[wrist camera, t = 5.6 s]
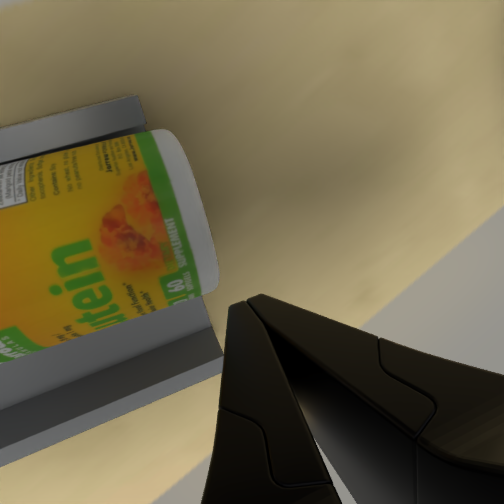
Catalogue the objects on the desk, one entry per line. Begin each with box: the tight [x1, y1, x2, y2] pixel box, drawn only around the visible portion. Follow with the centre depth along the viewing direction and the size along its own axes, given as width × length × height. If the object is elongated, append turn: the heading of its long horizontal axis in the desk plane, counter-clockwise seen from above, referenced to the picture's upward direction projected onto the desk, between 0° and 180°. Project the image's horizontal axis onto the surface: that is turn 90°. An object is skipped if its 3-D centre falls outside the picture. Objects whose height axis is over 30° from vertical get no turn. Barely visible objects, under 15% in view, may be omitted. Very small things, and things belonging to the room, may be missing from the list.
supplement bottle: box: [0, 129, 220, 364], centre depth 11 cm, size 5×5×10 cm
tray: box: [0, 94, 224, 467], centre depth 13 cm, size 12×11×2 cm
